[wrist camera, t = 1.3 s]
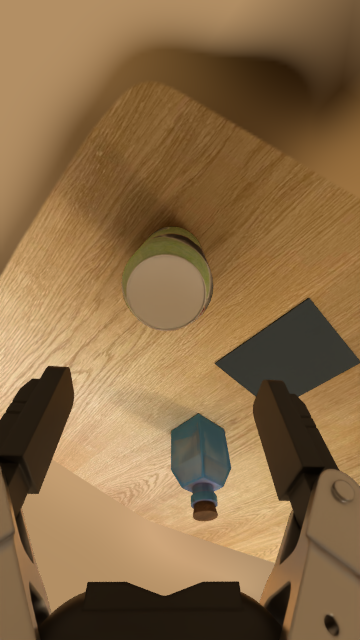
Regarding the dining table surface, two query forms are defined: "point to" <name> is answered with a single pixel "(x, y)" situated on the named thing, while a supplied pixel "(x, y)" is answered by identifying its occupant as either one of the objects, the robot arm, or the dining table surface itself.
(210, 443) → the perfume bottle
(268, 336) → the mat
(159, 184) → the dining table surface
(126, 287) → the beverage can
